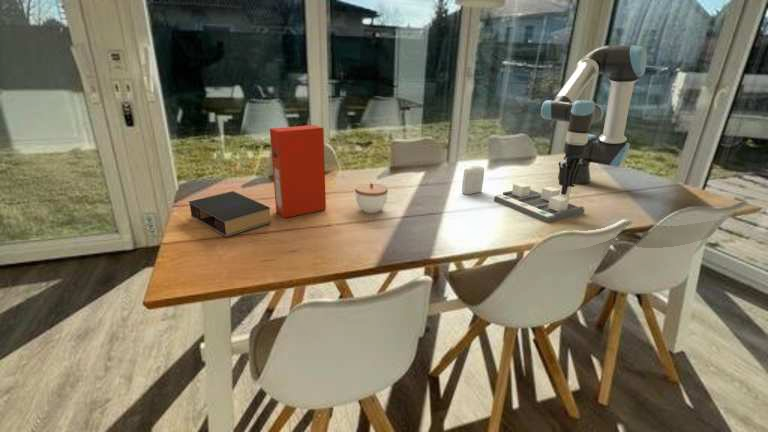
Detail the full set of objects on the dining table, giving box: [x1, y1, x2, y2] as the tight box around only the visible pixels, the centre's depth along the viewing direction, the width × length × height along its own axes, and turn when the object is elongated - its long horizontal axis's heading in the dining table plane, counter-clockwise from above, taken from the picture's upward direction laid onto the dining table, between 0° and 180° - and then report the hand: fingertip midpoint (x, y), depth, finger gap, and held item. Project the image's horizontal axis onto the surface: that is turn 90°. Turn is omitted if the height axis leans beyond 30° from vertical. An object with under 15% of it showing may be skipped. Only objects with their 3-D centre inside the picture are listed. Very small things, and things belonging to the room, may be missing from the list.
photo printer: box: [461, 165, 485, 195], centre depth 184 cm, size 10×4×12 cm, turn 123°
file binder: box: [269, 124, 327, 219], centre depth 153 cm, size 8×17×32 cm, turn 126°
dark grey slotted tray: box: [493, 189, 586, 224], centre depth 170 cm, size 22×28×3 cm
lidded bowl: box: [354, 182, 389, 214], centre depth 160 cm, size 13×13×11 cm
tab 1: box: [511, 182, 531, 197], centre depth 177 cm, size 5×5×4 cm
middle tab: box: [541, 186, 561, 201], centre depth 173 cm, size 5×5×4 cm
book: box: [188, 190, 272, 238], centre depth 147 cm, size 17×25×7 cm
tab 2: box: [548, 195, 570, 212], centre depth 162 cm, size 5×5×4 cm
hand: (563, 201), depth 163 cm, fingers closed
